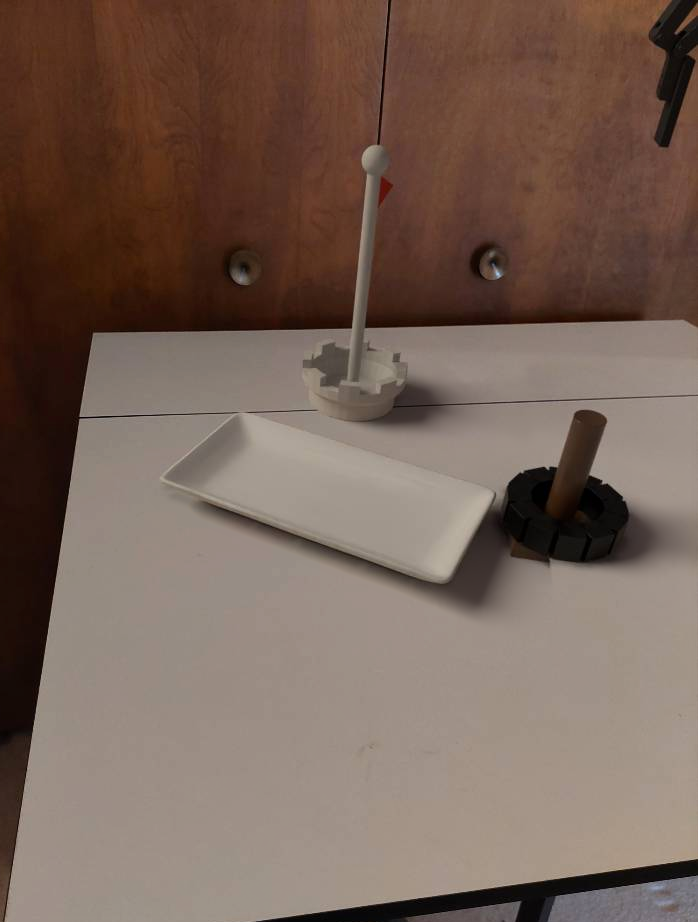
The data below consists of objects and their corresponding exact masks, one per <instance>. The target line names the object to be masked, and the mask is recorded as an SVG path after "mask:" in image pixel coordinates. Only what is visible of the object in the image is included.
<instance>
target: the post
mask: <svg viewBox="0 0 698 922" xmlns="http://www.w3.org/2000/svg"><path fill="white" fill-rule="evenodd" d="M607 423H608V418H607V416H605V415H604V414H602V413H601V412H598V411H596V410H594V409H593V410H592V409H579V410H576V411H575V412H574V414H573V416H572V420H571V423H570V425H569V429H568V431H567V432H568V433H567V436H566V439H565V442H564V444H563V445H564V446H563V448H562V451H561V455H560V459H559V462H558V465H557V467H558V468H557V471H556V474H555V478H554V481H553V484H552V487H551V491H550V494H549V497H548V500H547V502H546V503H541V504H536V506H537V507H538V508H539V509H540V510H541V511H542V512H543V513H545V514H548V515H550V516H552V517H554V518H556V519H559V520H561V521H568V522H575V523H584V522H589V521H591V520H590V519H589V518H588V517H587V516H586V515H585V514H584V513H583V512H582V511H580V510H577V509H578V506H579V503H580V500H581V497H582V494H583V492H584V489H585V486H586V483H587V480H588V477H589V475H591V471H592V468H593V464H594V462H595V459H596V455H597V454H598V450H599V447H600V444H601V442H602V439H603V435H604V433H605V430H606V427H607ZM508 534H509V535H508V536H509V547H510V548H509V550H510V557H514V558H522V559H528V560H533V561H534V560H536V561H542V560H543V562H549V561H550V562H551V558H550V553H549V554H548V555H547V556H546V557H545V556H543V555H540V554H538V553H536V552H534V551H532V550H530V549H528V548H526V547H524V546H522V543H523V541H522V542H517V541H516V540H515V539H514V538H513V537H512V536H511V535H510V533H509V532H508Z"/></svg>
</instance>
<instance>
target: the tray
mask: <svg viewBox="0 0 698 922" xmlns="http://www.w3.org/2000/svg"><path fill="white" fill-rule="evenodd" d="M159 482H160V483H161V484H163V485H165V486H167V487H169V488H172V489H174V490H175V491H178V492H180V493H182V494H185V495H187V496H190V497H192V498H194V499H198V500H201V501H204V502H205V503H208V504H211V505H213V506H216V507H219V508H222V509H224V510H226V511H230V512H233V513H235V514H238V515H242V516H244V517H247V518H249V519H252V520H254V521H258V522H260V523H262V524H266V525H268V526H272V527H274V528H277V529H280V530H282V531H284V532H287V533H289V534H293V535H296V536H299V537H302V538H305V539H307V540H310V541H313V542H316V543H319V544H321V545H324V546H326V547H329V548H331V549H335V550H338V551H340V552H343V553H346V554H348V555H352V556H355V557H357V558H360V559H363V560H366V561H368V562H372V563H375V564H377V565H379V566H382V567H385V568H388V569H390V570H394V571H396V572H397V573H400V574H401V573H402V574H404V575H407V576H410V577H413V578H415V579H419V580H422V581H426V582H428V583H429V582H430V583H435V584H439V585H440V584H442V585H443V584H447V583H449V582H450V581H451V580H452V579H453V577H454V576H455V574H456V572H457V570H458V569H459V567H460V564H461V562H462V561H463V558H464V556H465V554H466V553H467V550H468V548H469V547H470V545H471V543H472V541H473V539H474V537H475V536H476V534H477V533H478V530H479V528H480V527H481V525H482V523H483V522H484V519H485V518H486V516H487V514H488V512H489V511H490V509H491V508H492V506H493V504H494V502H495V500H496V498H497V492H496V490H494V489H492V488H490V487H487V486H485V485H482V484H478V483H475V482H472V481H468V480H465V479H463V478H458V477H455V476H453V475H452V476H451V475H448V474H445V473H442V472H439V471H435V470H432V469H429V468H426V467H422V466H419V465H417V464H414V463H409V462H406V461H404V460H400V459H397V458H393V457H390V456H387V455H384V454H380V453H378V452H374V451H371V450H367V449H365V448H362V447H358V446H355V445H352V444H349V443H346V442H343V441H339V440H336V439H333V438H330V437H327V436H323V435H320V434H317V433H314V432H310V431H308V430H304V429H301V428H298V427H295V426H291V425H289V424H286V423H282V422H280V421H276V420H273V419H270V418H266V417H263V416H260V415H257V414H253V413H249V412H244V411H241V412H237V413H235V414H232V415H231V416H230V417H229V418H227V419H226V420H225V421H224V422H223V423H221V424H220V425H219V426H218V427H217V428H216V429H215V430H214V431H212V432H211V433H210V434H208V436H206V437H205V438H204V439H203V440H202V441H200V442H199V443H198V444H197V445H195V446H194V447H193V448H192V449H191V450H189V452H187V453H186V454H185V455H183V456H182V457H181V458H180V459H179V460H178V461H176V462H175V463H174V464H173V465H172V466H171V467H169V468H168V469H167V470H166V471H164V473H162V474H161V475H160V477H159Z"/></svg>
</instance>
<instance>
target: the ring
mask: <svg viewBox="0 0 698 922" xmlns="http://www.w3.org/2000/svg"><path fill="white" fill-rule="evenodd" d="M557 468H558V466H551V465H550V466H549V467H548V468H547V467H546V466H540V467H534V468H528V469H524V470H523V472H518V473H517V474H516V475H515V476H514V477H513V478H512V479H510V481H508V483H507V485H506V488H505V492H504V496H503V499H502V503H501V507H500V513H501V514H500V515H501V524H503V528H504V529H505V530H506V531H507V532H508V534H509V533H510V535H511V536H512V537H513V538H514V539H515V540H516V541H517V542H522V541H523V543H522V546H524V547H526V548H528V549H530V550H532V551H534V552H536V553H538V554H540V555H543V556H545V557H546V556H547V555H548V554H549V555H550V556H551V559H552V560H557V561H564V562H565V561H566V562H571V563H580V560H581V561H582V562H583V563H587V562H591V561H595V560H599V559H604V558H607V556H611V555H612V553H613V552H614V551H615V549H616V548H617V547H618V546H619V545H620V543H621V542H622V538H623V536H624V533H625V531H626V529H627V526H628V524H629V521H630V512H629V508H628V504H627V501H626V500H624V496H623V495H621V494H620V493H619V492H618V491H617V490H616V489H614V487H613V486H612V485H610V484H609V483H603V482H604V481H603V480H602V479H600V478H598V477H596V476H593V475H591V474H589V477H588V480H587V483H586V486H585V489H584V492H583V494H582V497H581V500H580V503H579V506H578V509H577V510H580V511H582V512H583V513H584V514H585V515H586V516H587V517H588V518H589V519H590V520H591V521H589V522H584V523H575V522H568V521H561V520H559V519H556V518H554V517H552V516H550V515H548V514H545V513H543V512H542V511H541V510H540V509H539V508H538V507H537V506H536V504H541V503H546V502H547V500H548V497H549V494H550V491H551V487H552V484H553V481H554V478H555V474H556V471H557Z"/></svg>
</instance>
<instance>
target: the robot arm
mask: <svg viewBox="0 0 698 922" xmlns="http://www.w3.org/2000/svg"><path fill="white" fill-rule="evenodd" d="M696 5H698V0H671V1H670V2H669V4H668V5H667V6H666V7H665V9H664V11H663V12H662V13H661V15H659V17H658V19H657V20H656V21H655V22H654V24H653V25H652V26H651V28H650V29H649V31H648V35H647V37H648V40H649V41H650V42H651V43H652V44H653V45H655V46H656V47H658V48H660V49H662V50H664V53H665V58H664V62H663V66H662V68H661V73H660V76H659V79H658V83H657V86H656V90H655V94H656V98H657V100H659V101H660V102H662V101H663V102H664V104H663V108H662V111H661V114H660V117H659V120H658V124H657V126H656V127H657V128H656V130H655V133H654V137H653V140H654V142H655V144H656V145H657V146H658V147H659V148H665V149H666V148H667V149H668V148H669V147H670V145H671V141H672V138H673V135H674V131H675V128H676V126H677V122H678V119H679V116H680V112H681V110H682V106H683V103H684V100H685V97H686V94H687V91H688V88H689V84H690V81H691V77H692V75H693V71H694V68H695V65H696V62H697V59H695V58H694V57H692V56H691V55H690V54H689V53H691V52H692V51H693V50H694V49H695V48H696V47H697V46H698V14H697V15H695V17H694V18H693V19H692V20H690V21H689V23H687V24H686V25H685V26H684V27H683V28H682V29H680V31H679V32H677V30H678V29H679V28H680V26H681V25H682V24H683V22H684V21H685V20H686V19H687V18H688V16H689V14H690V13H691V12H692V11H693V9H694V8H695V7H696ZM676 32H677V33H676Z"/></svg>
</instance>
